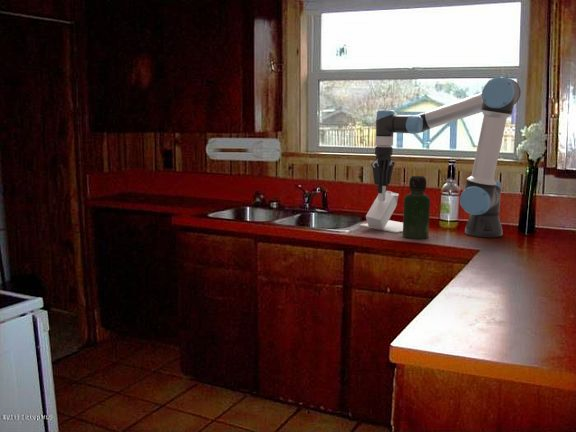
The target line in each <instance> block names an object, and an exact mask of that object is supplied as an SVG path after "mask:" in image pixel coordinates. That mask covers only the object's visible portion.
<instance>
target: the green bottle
mask: <svg viewBox="0 0 576 432" xmlns="http://www.w3.org/2000/svg"><path fill="white" fill-rule="evenodd" d="M408 187H409V191H410V192H411V193H407V194H406V195H405V196H404V198H403V217H402V220H403V221H402V223H403V232H402V236H403V237H404V238H408V239H413V240H421V239H426V238H427V239H428V238H429V231H430V228H429V227H430V213H431V212H430V209H431V208H430V207H431V199H430V196H429V195H428V194H425V193H424V192H425V191H426V189H427V178H426V177H425V176H424V175H423V176H422V175H412V176H411V177H410V178H409V186H408Z"/></svg>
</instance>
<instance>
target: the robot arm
mask: <svg viewBox="0 0 576 432" xmlns="http://www.w3.org/2000/svg"><path fill="white" fill-rule="evenodd" d="M521 93H522V91H521V87H520V85H519V83H518V82H517V81H515V80H514V79H511V78H508V77H507V76H506V77H504V76H496V77H493V78H491V79H490V80H487V82H485V84H484V85H483V87H482V90H481V92H480V93H478V94H474V95H471V96H468V97H465V98H462V99H460V100H457V101H454V102H451V103H449V104H444V105H442V106H439V107H437V108H434V109H430V110H428V111H424V112H422V113H419V114H418V113H417V114H396V113H395V110H392V109H379V110H377V111H376V117H375V143H374V144H375V148H374V155H375V156H376V157H375V159H374V162H371V163H370V165H371V168H372V174H373V183H374V185H376V186H377V194H378V195H377V196H378V200H379V201H385V193H386V191H387V187H388V186H389V185H390V184H391V180H392V176H393V170H394V166H395V165H396V162H394V161H392V156H393V151H394V148H393V146H394V133H397V134H411V135H412V134H414V135H415V134H420V133H424V132H426V131H428V130H430V129H433V128H437V127H440V126H443V125H446V124H448V123H451V122H455V121H458V120H461V119H465V118H466V117H471V116H473V115H476V114H477V115H478V114H480V113H482V114H483V118H482V122H481V123H482V124H481V128H480V131H479V132H480V133H479V138H478V142H477V147H476V152H475V157H474V161H473V167H472V172H471V175H470V176H469V177H466V180H465V181H466V182H465V185H464V189H463V190H462V192H461V194H460V197H459V204H460V206H461V209H462V210H463V211H465V213H467V214H469V218H468V220H467V222H466V225H465V228H464V233H465V234H466V235H468V236H472V237H478V238H499V237H502V236H503V231H504V230H503V227H502V223H501V219H500V208H501V194H502V183H501V182H500V180H499V181H498V180H495V179H494V178H495V174H496V170H497V165H498V161H499V157H500V156H499V155H500V151H501V146H502V142H503V138H504V137H503V136H504V132H505V128H506V124H507V119H508V118H510V117H511V116H512V114H513V111H514V105H515V106H516V104H517V103H518V102H519V100H520V98H521Z"/></svg>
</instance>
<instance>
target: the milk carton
mask: <svg viewBox="0 0 576 432" xmlns="http://www.w3.org/2000/svg"><path fill="white" fill-rule="evenodd" d="M399 195H400V194H399V193H397V192H393V191H391V190H386V193H385V201H379V200H378V195H377V196H376V198H375V199H374V201H373V203H372V204H371V206H370V208H369V210H368V212H367V213H366V215H365V218H366V219H365V220H366V223H368V226H369V227H372V228H371V229H374V228H376V229H375V230H379V229H380V230H379V231H384V230H383V229H384V228H385V226H386V224H387V222H388V220H391V217H392V215H393V213H394V211H395V210H396V207H397V205H398V199H399Z"/></svg>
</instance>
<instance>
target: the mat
mask: <svg viewBox="0 0 576 432" xmlns="http://www.w3.org/2000/svg"><path fill="white" fill-rule="evenodd" d="M359 226H360V227H364V228H369V229H373V230H377V229H376V228H372V227H369V226H368V223H367V222H366V223H361V224H359ZM378 230H379V231H381V230H380V229H378ZM382 231H385V232H389V233H394V234H399V233H400V232H401V233H403V221H401V222H400V221H395V220H391V219H389V220H388V222H387V224H386V226H385V228H384V229H383V230H382ZM401 233H400V234H401Z"/></svg>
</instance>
